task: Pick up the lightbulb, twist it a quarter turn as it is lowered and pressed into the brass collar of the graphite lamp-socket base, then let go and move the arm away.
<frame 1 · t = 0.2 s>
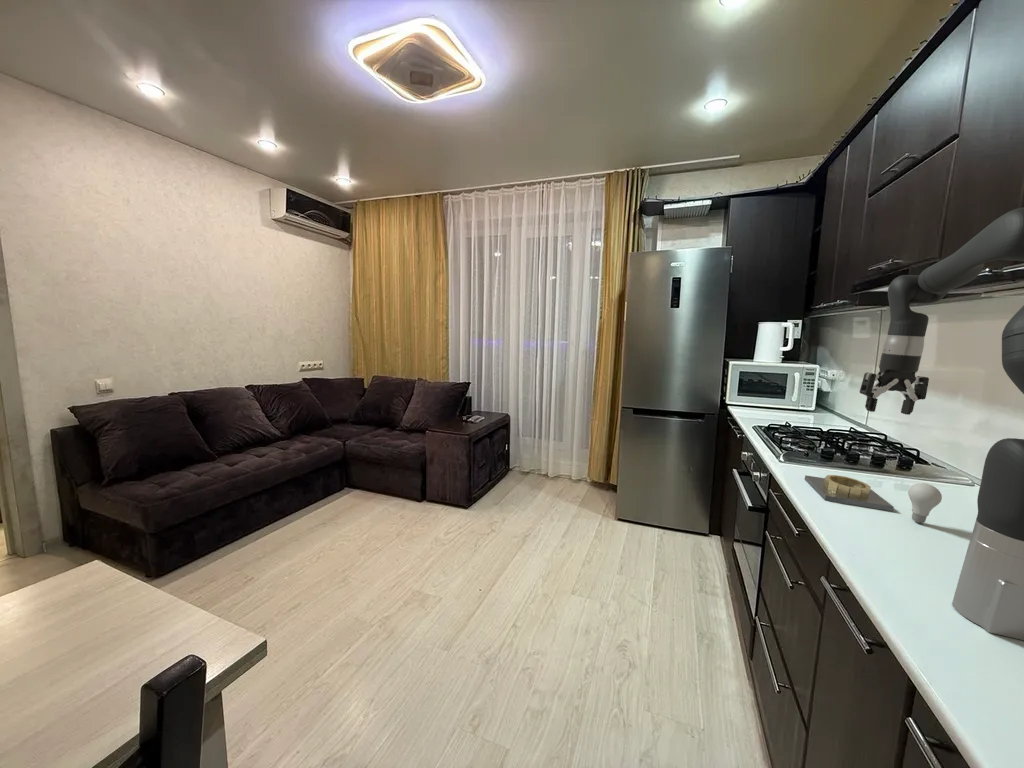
hand: (887, 412, 106), 28 cm above the countertop, fingers open, 8 cm apart
lightbulb: (917, 523, 104), on the countertop
lamp socket: (844, 494, 120), on the countertop
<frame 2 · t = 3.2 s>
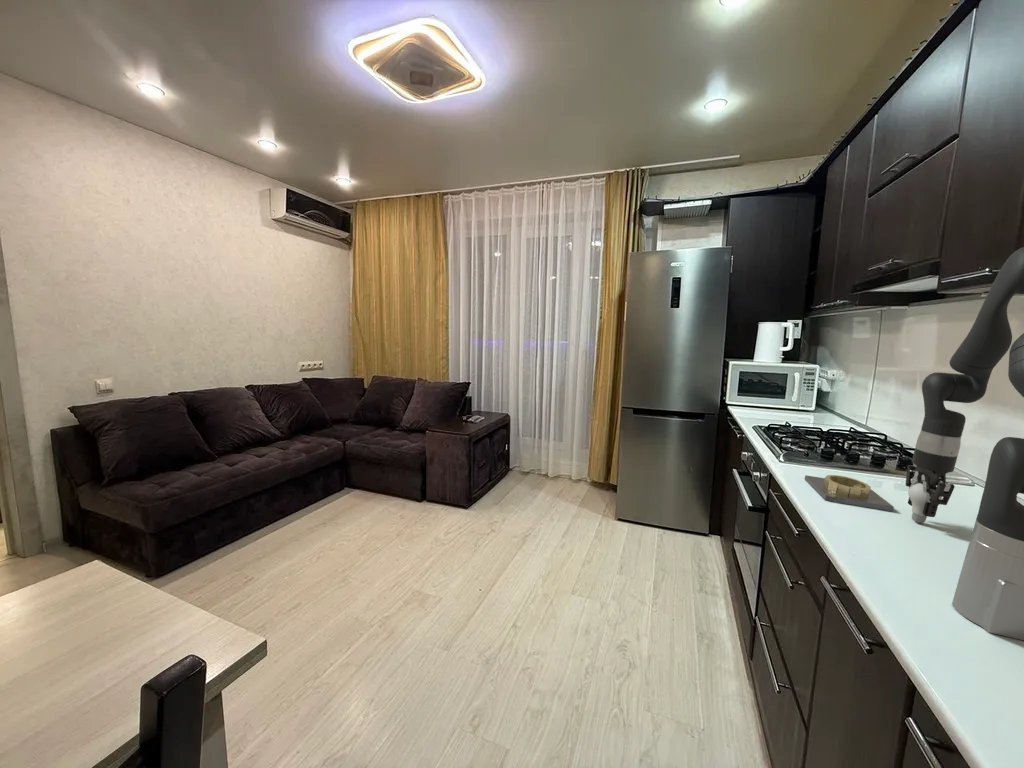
hand: (920, 510, 104), 4 cm above the countertop, fingers closed on lightbulb, 5 cm apart
lightbulb: (917, 523, 104), on the countertop, touching gripper
when the fingers open (5 cm above the countertop, at t = 10.0 s): lightbulb stays where it is, resting on lamp socket.
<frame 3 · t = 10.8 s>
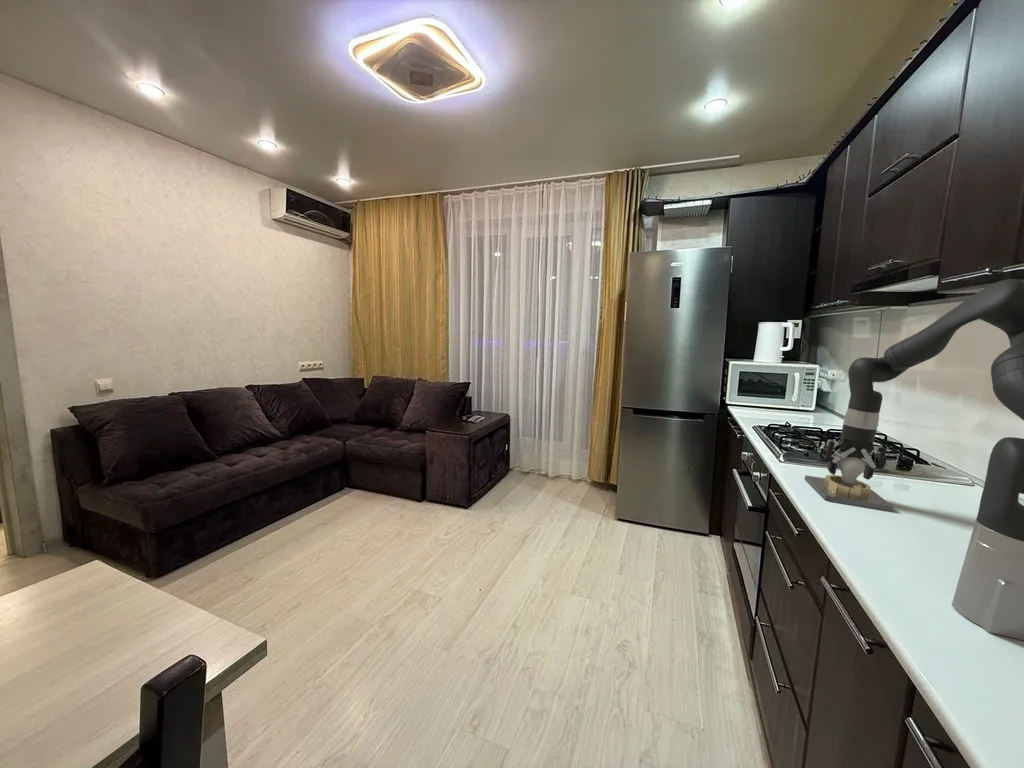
hand: (848, 476, 119), 6 cm above the countertop, fingers open, 8 cm apart
lightbulb: (846, 490, 119), point 1 cm above the countertop, touching lamp socket
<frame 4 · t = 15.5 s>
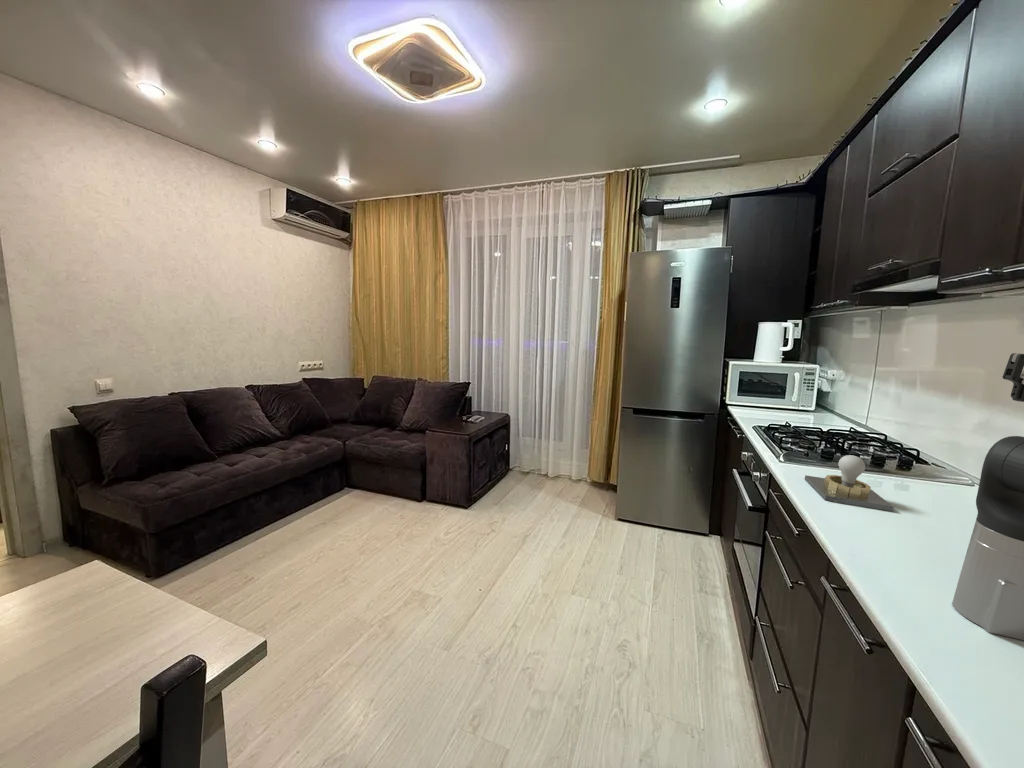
nothing on the countertop moved.
at the end: lightbulb 0.1 cm off-centre on the lamp socket, point 1.3 cm above the lamp socket's base; lightbulb tilted 0°; the gripper is holding nothing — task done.
